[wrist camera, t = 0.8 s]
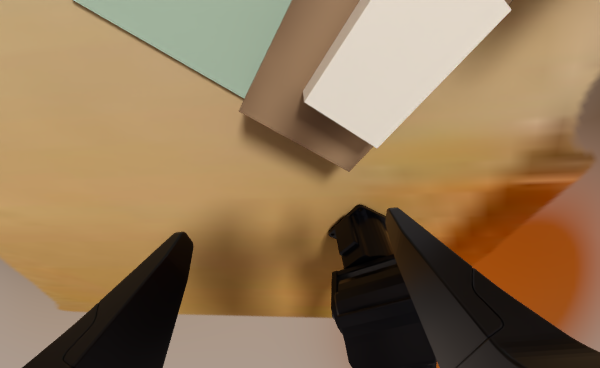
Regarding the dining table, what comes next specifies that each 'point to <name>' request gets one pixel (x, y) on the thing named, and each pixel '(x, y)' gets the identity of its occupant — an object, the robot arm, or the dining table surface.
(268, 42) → the mat
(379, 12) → the white block
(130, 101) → the dining table surface
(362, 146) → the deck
